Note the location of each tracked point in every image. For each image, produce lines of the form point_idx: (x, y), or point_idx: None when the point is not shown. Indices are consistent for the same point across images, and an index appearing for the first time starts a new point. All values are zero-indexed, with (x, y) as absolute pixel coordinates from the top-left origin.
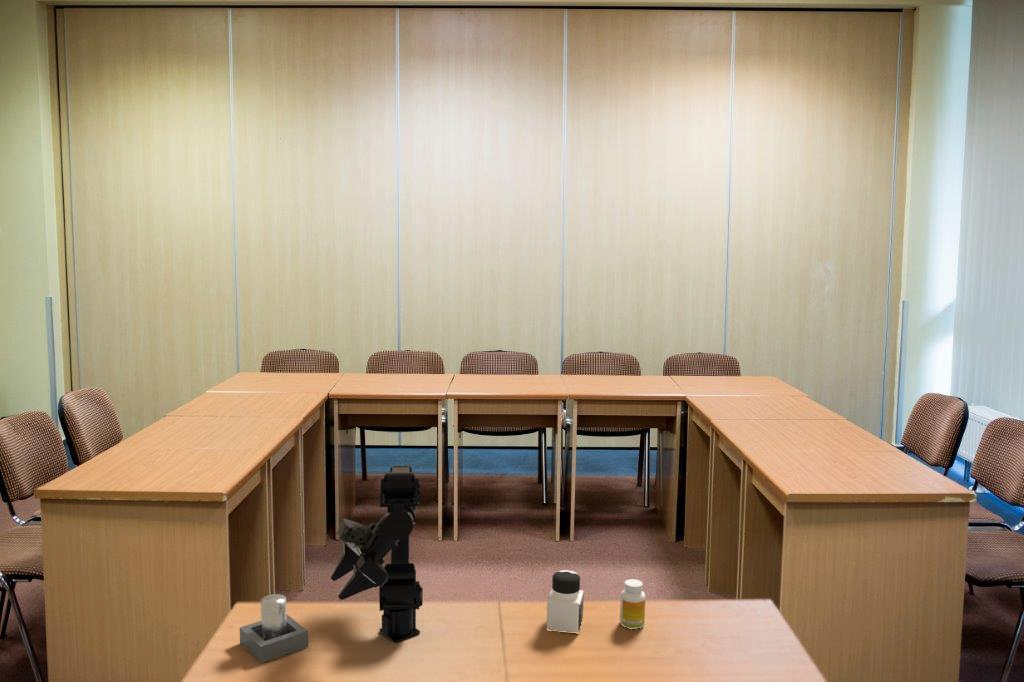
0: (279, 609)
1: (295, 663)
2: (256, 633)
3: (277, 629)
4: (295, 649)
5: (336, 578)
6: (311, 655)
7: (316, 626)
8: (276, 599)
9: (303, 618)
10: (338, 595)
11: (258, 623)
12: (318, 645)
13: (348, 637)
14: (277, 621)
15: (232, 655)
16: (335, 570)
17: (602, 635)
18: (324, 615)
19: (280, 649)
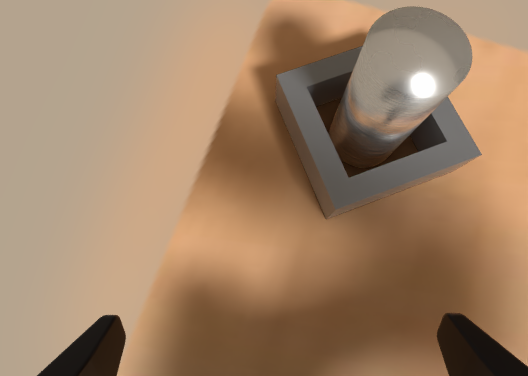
0: (363, 83)
1: (247, 177)
2: None
3: (342, 114)
4: (311, 182)
5: (447, 357)
6: (276, 222)
7: (449, 258)
8: (414, 59)
9: (510, 226)
10: (111, 318)
11: None
12: (327, 248)
13: (354, 348)
14: (349, 100)
15: (334, 45)
16: (500, 368)
17: None
18: (523, 294)
19: (296, 137)
